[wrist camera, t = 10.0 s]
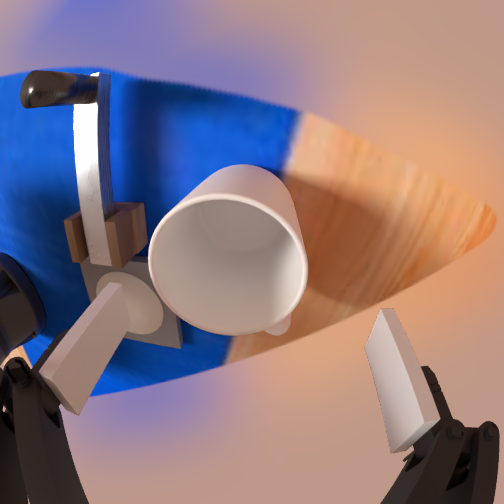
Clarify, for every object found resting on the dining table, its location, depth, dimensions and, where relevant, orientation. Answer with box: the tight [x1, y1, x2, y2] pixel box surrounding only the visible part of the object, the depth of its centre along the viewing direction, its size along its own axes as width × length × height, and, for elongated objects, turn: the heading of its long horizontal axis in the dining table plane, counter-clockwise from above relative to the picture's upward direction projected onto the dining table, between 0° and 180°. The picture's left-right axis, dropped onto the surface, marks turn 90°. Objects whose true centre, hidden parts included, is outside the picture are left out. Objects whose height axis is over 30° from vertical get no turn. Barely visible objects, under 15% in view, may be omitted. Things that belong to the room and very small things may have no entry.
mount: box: [64, 202, 148, 269], centre depth 22 cm, size 6×4×5 cm, turn 87°
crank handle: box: [20, 70, 115, 266], centre depth 16 cm, size 2×16×8 cm, turn 177°
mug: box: [148, 164, 308, 336], centre depth 19 cm, size 12×8×10 cm
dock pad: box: [80, 256, 183, 349], centre depth 27 cm, size 11×11×1 cm
